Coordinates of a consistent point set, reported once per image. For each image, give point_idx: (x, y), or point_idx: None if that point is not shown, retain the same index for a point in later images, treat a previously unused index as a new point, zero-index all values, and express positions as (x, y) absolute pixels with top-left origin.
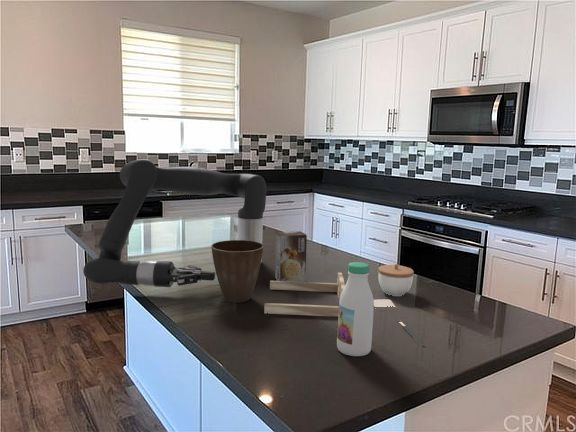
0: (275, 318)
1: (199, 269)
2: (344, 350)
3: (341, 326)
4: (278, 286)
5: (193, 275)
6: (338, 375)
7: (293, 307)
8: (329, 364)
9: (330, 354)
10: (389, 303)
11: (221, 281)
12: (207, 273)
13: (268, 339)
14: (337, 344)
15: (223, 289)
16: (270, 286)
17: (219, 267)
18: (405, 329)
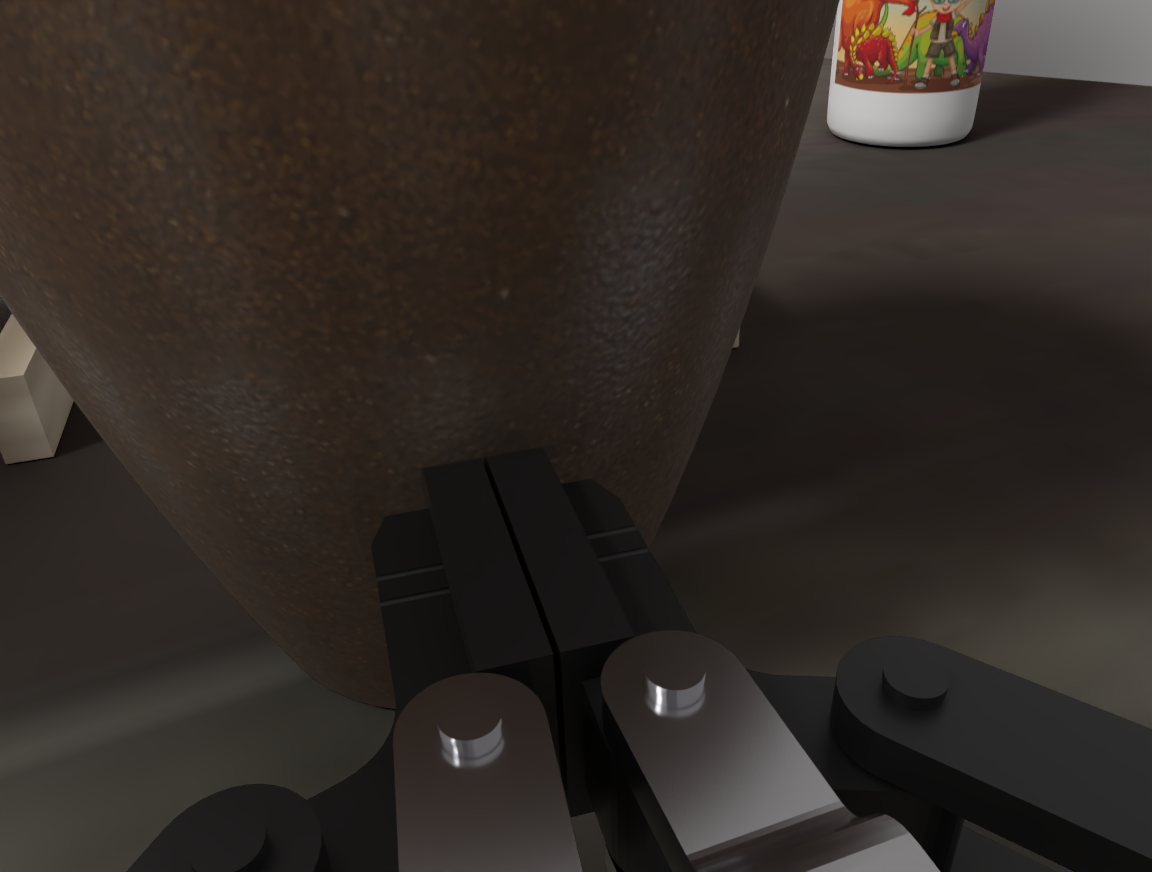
0: (781, 298)
1: (300, 833)
2: (974, 116)
3: (987, 15)
4: (58, 380)
5: (1045, 695)
6: (1137, 129)
7: None
8: (1088, 144)
9: (1006, 151)
10: None
11: (717, 376)
12: (580, 536)
13: (1107, 259)
14: (952, 121)
15: (668, 498)
16: (43, 424)
17: (807, 92)
18: None
